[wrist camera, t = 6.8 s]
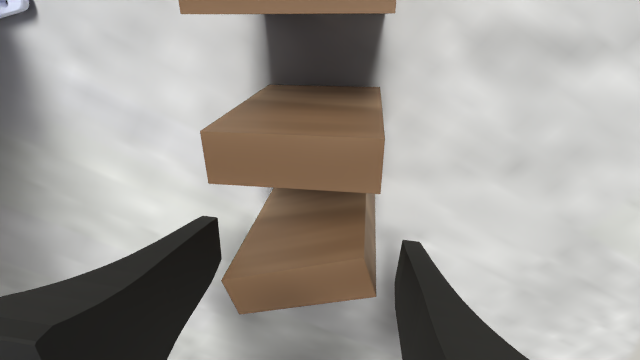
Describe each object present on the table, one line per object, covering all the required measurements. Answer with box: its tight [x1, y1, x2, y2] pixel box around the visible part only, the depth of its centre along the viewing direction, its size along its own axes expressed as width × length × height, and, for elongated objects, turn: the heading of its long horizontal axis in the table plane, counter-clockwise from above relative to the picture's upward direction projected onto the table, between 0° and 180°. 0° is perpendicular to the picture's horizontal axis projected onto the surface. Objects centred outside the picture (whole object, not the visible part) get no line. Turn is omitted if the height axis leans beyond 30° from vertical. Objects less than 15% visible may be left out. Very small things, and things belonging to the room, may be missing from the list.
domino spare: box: [221, 188, 376, 314], centre depth 15 cm, size 2×5×7 cm, turn 107°
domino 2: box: [200, 85, 385, 194], centre depth 13 cm, size 2×5×7 cm, turn 90°
